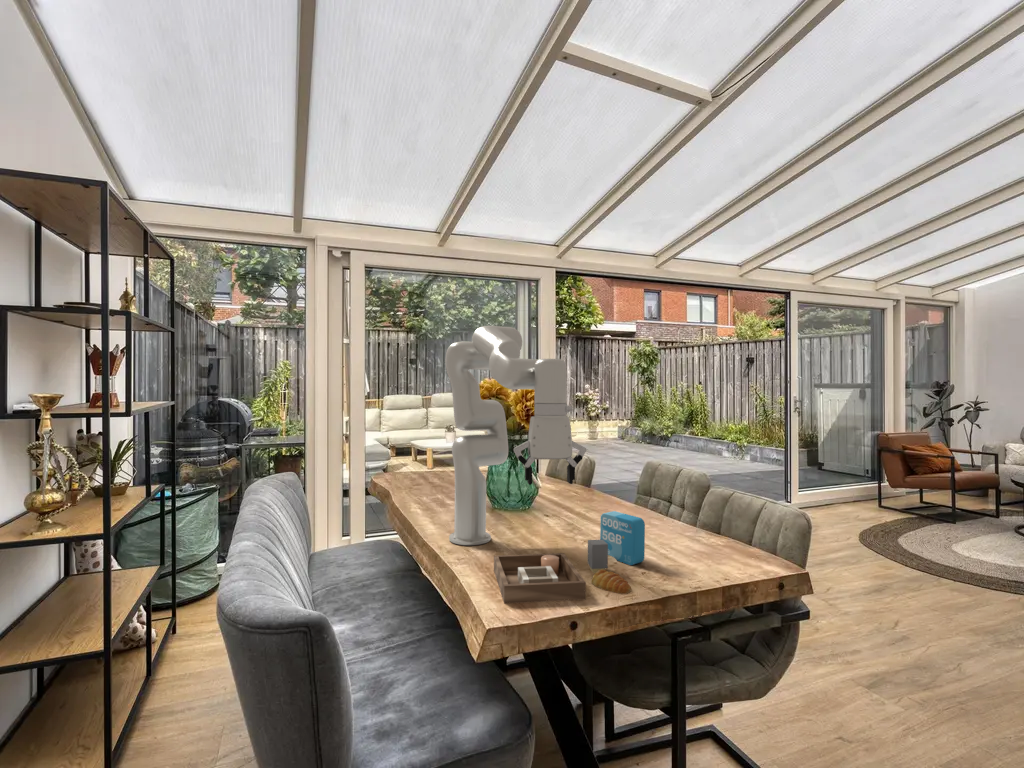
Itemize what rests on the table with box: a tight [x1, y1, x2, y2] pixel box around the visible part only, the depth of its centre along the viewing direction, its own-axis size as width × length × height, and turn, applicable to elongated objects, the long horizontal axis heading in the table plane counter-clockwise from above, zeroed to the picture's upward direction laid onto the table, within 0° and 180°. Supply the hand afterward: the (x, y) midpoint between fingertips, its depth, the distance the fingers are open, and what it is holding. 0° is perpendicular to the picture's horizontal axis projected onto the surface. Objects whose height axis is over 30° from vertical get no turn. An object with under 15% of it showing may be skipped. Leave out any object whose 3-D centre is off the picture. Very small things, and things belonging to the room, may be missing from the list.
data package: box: [599, 510, 646, 566], centre depth 147 cm, size 12×4×12 cm, turn 39°
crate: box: [493, 552, 587, 604], centre depth 127 cm, size 20×18×4 cm
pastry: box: [591, 569, 632, 595], centre depth 126 cm, size 9×7×4 cm
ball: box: [541, 555, 559, 576], centre depth 133 cm, size 4×4×4 cm
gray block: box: [587, 539, 609, 574], centre depth 136 cm, size 4×4×8 cm
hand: (549, 483), depth 127 cm, fingers open, 9 cm apart
